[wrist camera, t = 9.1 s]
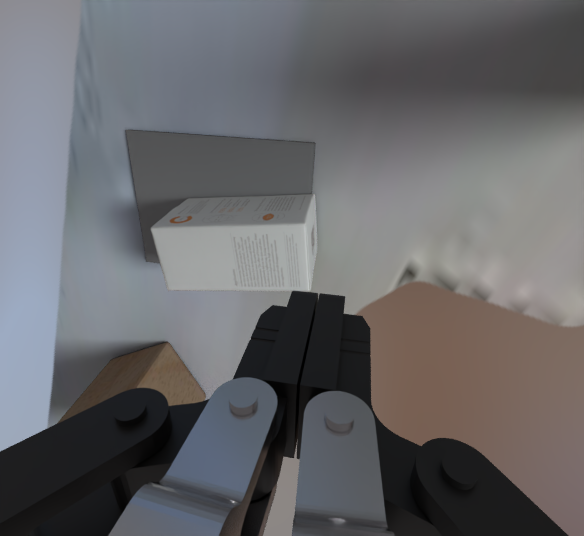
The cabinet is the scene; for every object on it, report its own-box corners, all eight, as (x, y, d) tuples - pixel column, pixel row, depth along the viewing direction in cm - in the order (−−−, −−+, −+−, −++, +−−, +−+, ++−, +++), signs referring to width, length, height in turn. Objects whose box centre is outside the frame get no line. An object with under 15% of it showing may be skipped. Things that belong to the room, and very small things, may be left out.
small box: (318, 252, 38) (199, 253, 40) (316, 192, 35) (187, 196, 37) (310, 294, 31) (165, 292, 33) (306, 223, 28) (147, 225, 30)
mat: (315, 142, 34) (314, 143, 33) (305, 277, 40) (305, 279, 40) (128, 129, 35) (125, 130, 35) (148, 260, 42) (146, 261, 42)
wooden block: (208, 395, 51) (132, 563, 33) (151, 409, 54) (54, 570, 36) (169, 339, 47) (60, 496, 30) (110, 358, 50) (-20, 509, 33)
